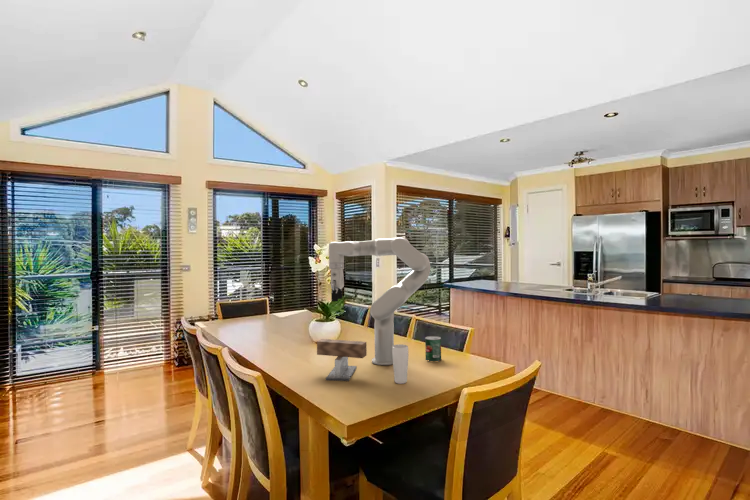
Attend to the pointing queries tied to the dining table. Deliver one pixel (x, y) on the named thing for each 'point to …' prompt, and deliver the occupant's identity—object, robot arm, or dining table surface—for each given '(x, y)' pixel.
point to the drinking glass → (400, 363)
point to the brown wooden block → (341, 348)
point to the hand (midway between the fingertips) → (337, 299)
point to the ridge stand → (341, 370)
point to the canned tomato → (433, 348)
